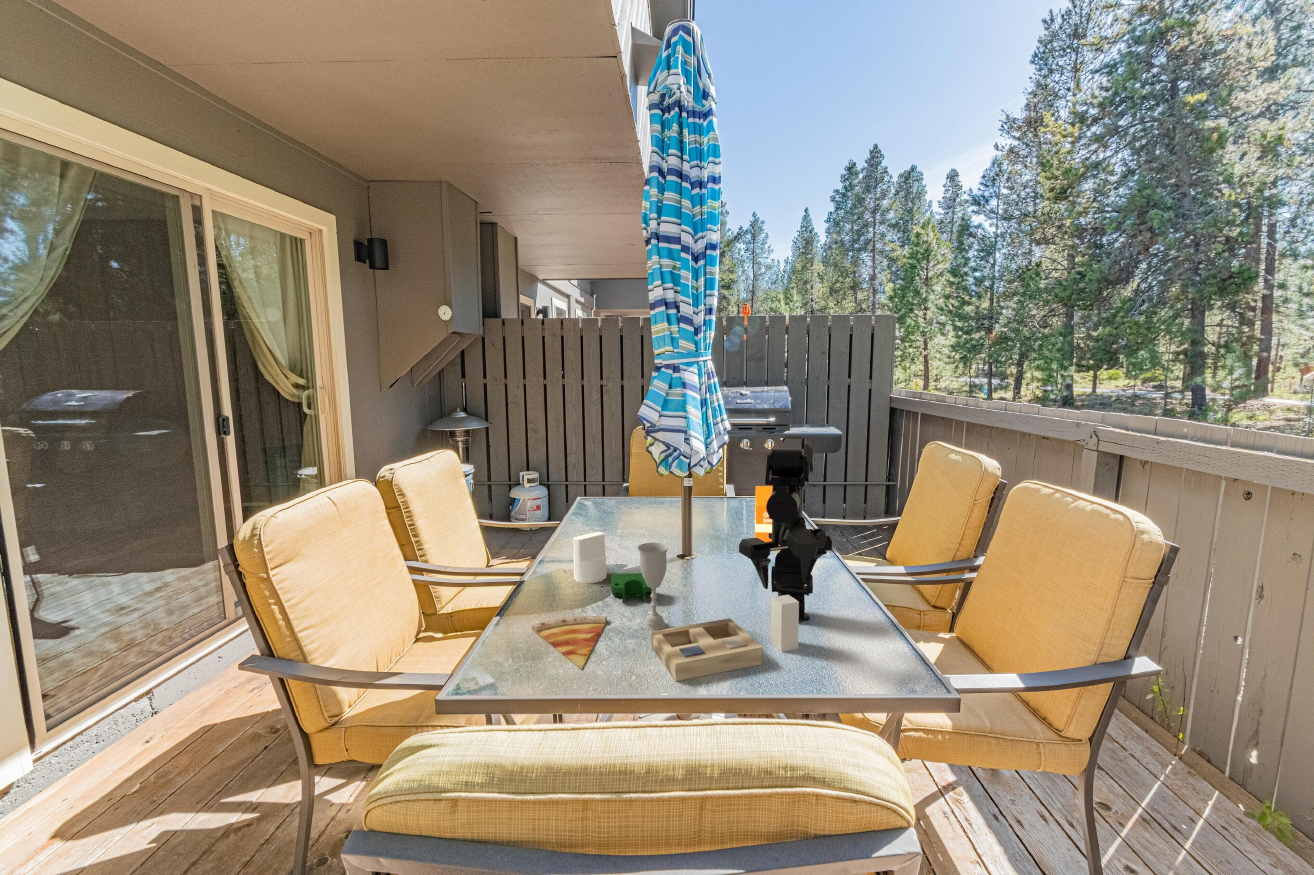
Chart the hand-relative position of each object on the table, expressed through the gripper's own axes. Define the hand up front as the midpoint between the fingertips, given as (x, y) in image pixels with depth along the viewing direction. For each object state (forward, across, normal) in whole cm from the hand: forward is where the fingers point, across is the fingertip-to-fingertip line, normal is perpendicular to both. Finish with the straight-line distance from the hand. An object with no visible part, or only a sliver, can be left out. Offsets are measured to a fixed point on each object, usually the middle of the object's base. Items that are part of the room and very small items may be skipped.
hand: (785, 585), depth 117 cm
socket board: (+13, -17, +2) cm, 22 cm away
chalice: (+13, -22, +19) cm, 32 cm away
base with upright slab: (+13, -29, +54) cm, 63 cm away
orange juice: (+13, +31, +60) cm, 69 cm away
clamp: (+13, -22, +35) cm, 44 cm away
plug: (+13, 0, 0) cm, 13 cm away
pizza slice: (+14, -43, +19) cm, 49 cm away
